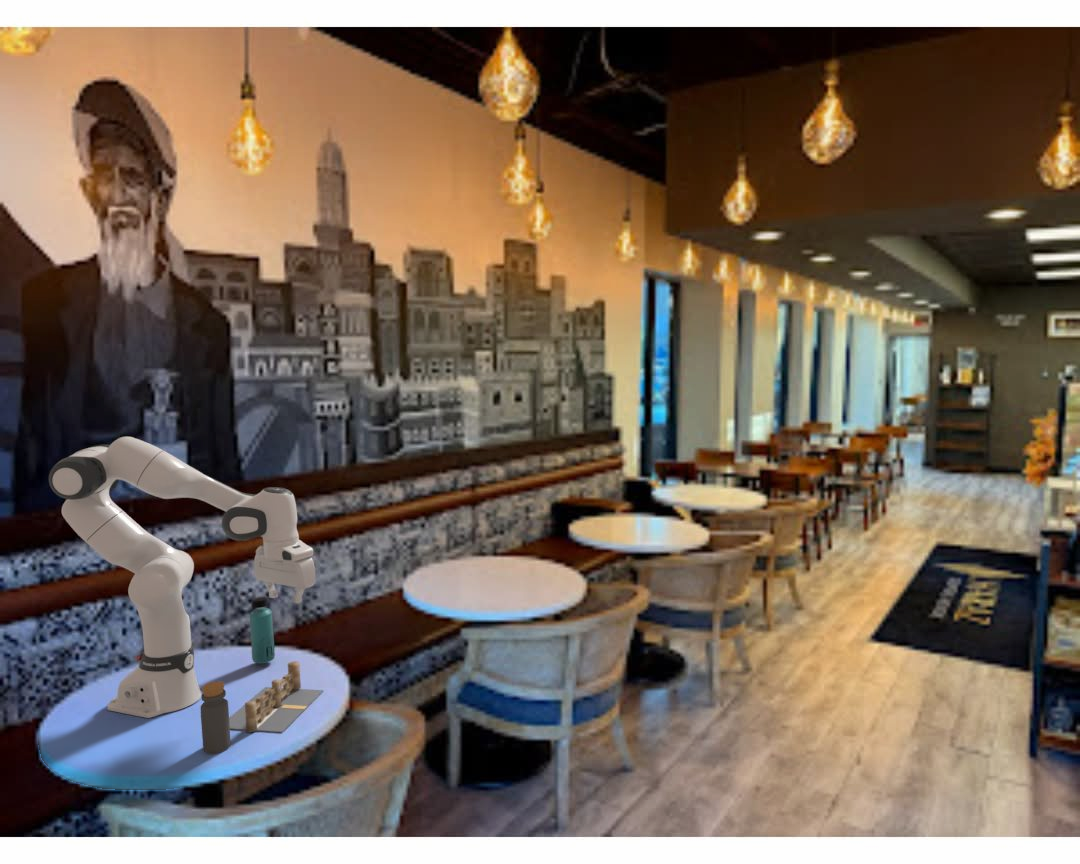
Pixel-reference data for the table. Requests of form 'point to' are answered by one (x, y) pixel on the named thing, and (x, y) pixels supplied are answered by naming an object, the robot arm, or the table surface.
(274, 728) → the card
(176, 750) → the table surface
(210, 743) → the bottle
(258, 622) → the beverage bottle
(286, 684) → the fence gate
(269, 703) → the fence fixed
